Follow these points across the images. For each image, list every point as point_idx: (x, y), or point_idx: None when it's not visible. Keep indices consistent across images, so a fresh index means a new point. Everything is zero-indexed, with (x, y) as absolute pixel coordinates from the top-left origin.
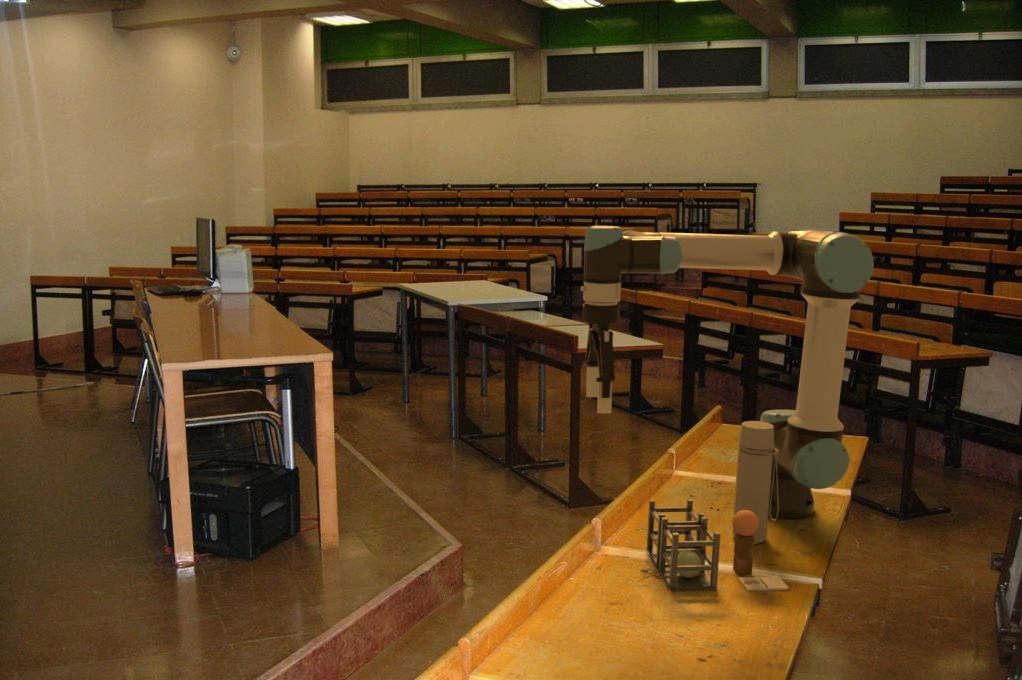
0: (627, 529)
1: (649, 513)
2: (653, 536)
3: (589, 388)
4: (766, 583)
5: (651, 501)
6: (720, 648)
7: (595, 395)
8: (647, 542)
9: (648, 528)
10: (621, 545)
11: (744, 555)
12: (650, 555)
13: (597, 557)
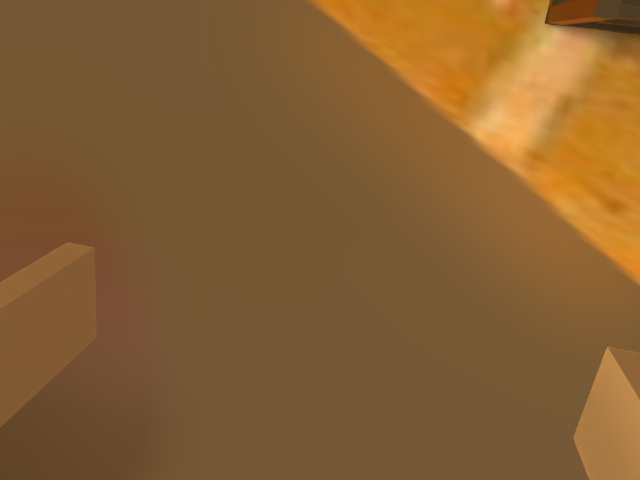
0: (358, 20)
1: (597, 20)
2: (627, 22)
3: (53, 356)
4: None
5: (617, 13)
6: None
7: (86, 281)
8: (560, 23)
9: (576, 22)
10: (478, 86)
11: None
12: (600, 29)
13: (543, 185)
